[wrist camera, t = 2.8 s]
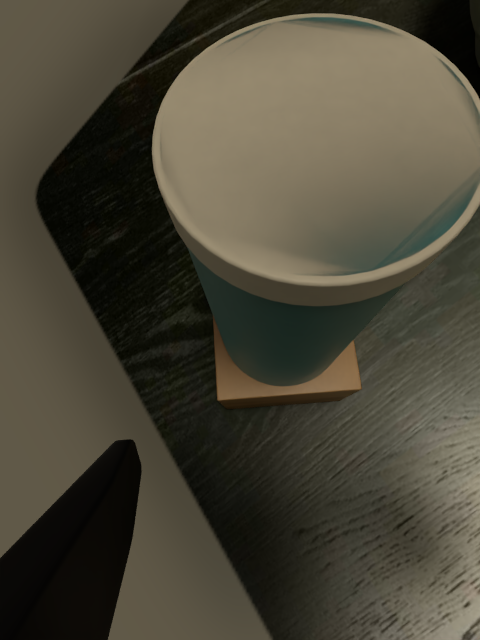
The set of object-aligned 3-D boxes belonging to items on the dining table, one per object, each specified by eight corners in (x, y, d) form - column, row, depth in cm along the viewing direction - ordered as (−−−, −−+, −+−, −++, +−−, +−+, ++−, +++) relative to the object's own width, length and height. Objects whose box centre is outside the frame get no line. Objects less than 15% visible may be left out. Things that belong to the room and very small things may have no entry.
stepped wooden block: (348, 400, 22) (406, 373, 13) (218, 410, 22) (190, 390, 13) (329, 276, 24) (367, 186, 16) (211, 286, 24) (184, 203, 16)
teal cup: (348, 390, 17) (526, 287, 6) (216, 387, 17) (132, 284, 6) (341, 269, 19) (466, 6, 7) (222, 268, 19) (166, 16, 8)
